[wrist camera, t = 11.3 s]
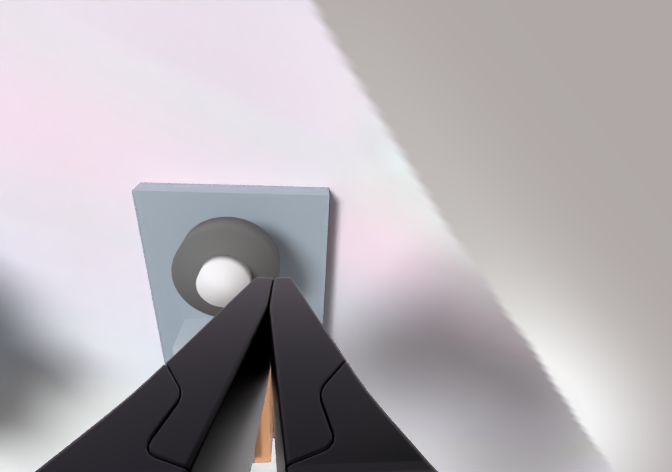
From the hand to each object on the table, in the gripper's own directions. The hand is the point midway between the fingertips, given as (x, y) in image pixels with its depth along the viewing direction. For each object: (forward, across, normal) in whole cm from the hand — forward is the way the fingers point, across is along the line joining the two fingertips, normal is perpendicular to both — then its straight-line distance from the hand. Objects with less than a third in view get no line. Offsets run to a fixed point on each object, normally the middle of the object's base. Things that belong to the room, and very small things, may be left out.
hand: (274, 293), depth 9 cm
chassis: (+13, +3, +10) cm, 16 cm away
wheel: (+10, +3, +5) cm, 11 cm away
